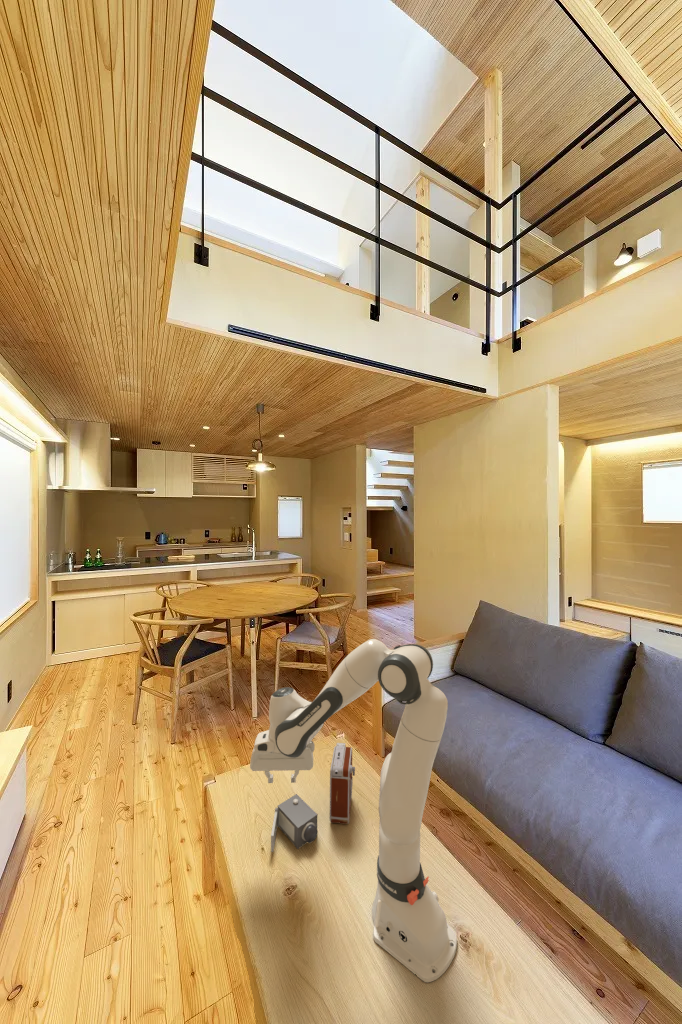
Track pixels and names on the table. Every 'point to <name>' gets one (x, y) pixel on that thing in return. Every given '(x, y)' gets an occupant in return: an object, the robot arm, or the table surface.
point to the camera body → (297, 821)
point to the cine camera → (341, 784)
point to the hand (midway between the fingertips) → (282, 781)
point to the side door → (274, 829)
